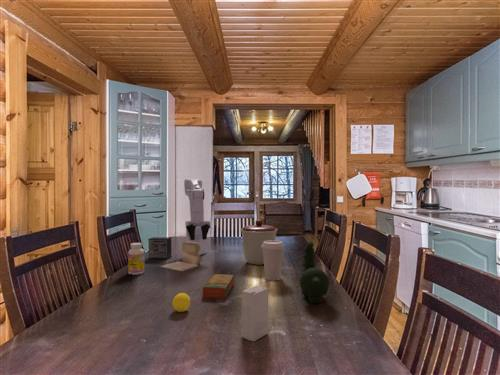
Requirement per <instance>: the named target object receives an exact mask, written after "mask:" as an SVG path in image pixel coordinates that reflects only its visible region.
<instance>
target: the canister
mask: <svg viewBox="0 0 500 375" xmlns="http://www.w3.org/2000/svg"><path fill="white" fill-rule="evenodd" d="M263 223H264V222H263V220H262V219H257V220H255V224H249V225H244V226H243V227H242V228H240V232H241V235H242V246H243V253H244V259H245V261H246V263H248V264H250V265H254V264H255V266H256V265H257V266H262V265H263V264H264V260H263V249H262V248H261V246H262V244H263V242H264V241H269V240H276V239H277V238H276V236H277V232H278V228H276V227H275V226H274V225H269V224H263ZM263 266H264V265H263Z"/></svg>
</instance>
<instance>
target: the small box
mask: <svg viewBox="0 0 500 375" xmlns="http://www.w3.org/2000/svg"><path fill="white" fill-rule="evenodd" d="M147 240H148V259H149V260H155V259H156V260H169V259H170V258H172V254H173V253H172V237H171V236H170V237H169V236H168V237H166V236H165V237H162V236H161V237H160V236H157V237H155V236H153V237H150V238H148V239H147Z"/></svg>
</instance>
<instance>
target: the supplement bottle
mask: <svg viewBox="0 0 500 375" xmlns="http://www.w3.org/2000/svg"><path fill="white" fill-rule="evenodd" d="M142 247H143V244H142V242H132V243H130V249H129V250H128V252H127V259H128V260H127V261H128V262H127V264H128V265H127V266H128V267H127V268H128V270H127V272H128V275H131V274H132V275H133V276H137V275H141V274H144V273H145V249H143V248H142Z"/></svg>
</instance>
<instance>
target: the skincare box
mask: <svg viewBox="0 0 500 375" xmlns="http://www.w3.org/2000/svg"><path fill="white" fill-rule="evenodd" d="M268 333H269V288H268V287H264V286H260V285H254V286H251V287H249V288H247V289H244V290H242V291H241V337H242V338H244V339H245V340H248V341H250V342H256V341H257V340H259V339H260V338H262V337H264V336H266V335H267V334H268Z"/></svg>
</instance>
